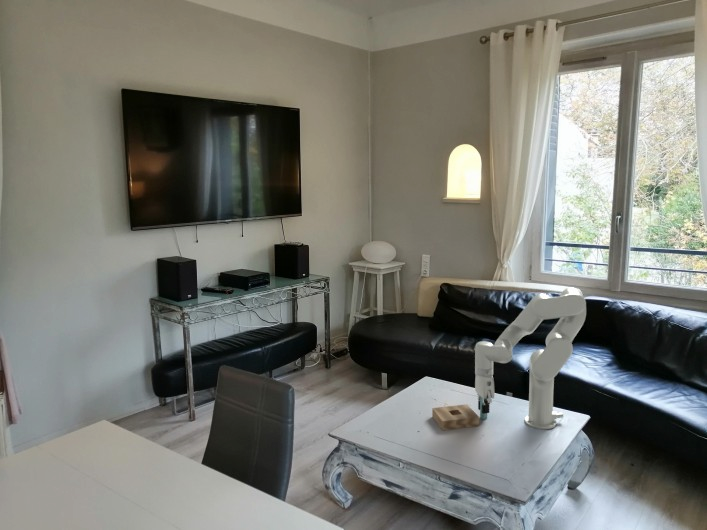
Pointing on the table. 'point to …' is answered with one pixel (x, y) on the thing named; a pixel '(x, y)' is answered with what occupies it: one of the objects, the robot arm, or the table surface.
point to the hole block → (455, 417)
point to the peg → (482, 416)
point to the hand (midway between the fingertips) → (483, 410)
